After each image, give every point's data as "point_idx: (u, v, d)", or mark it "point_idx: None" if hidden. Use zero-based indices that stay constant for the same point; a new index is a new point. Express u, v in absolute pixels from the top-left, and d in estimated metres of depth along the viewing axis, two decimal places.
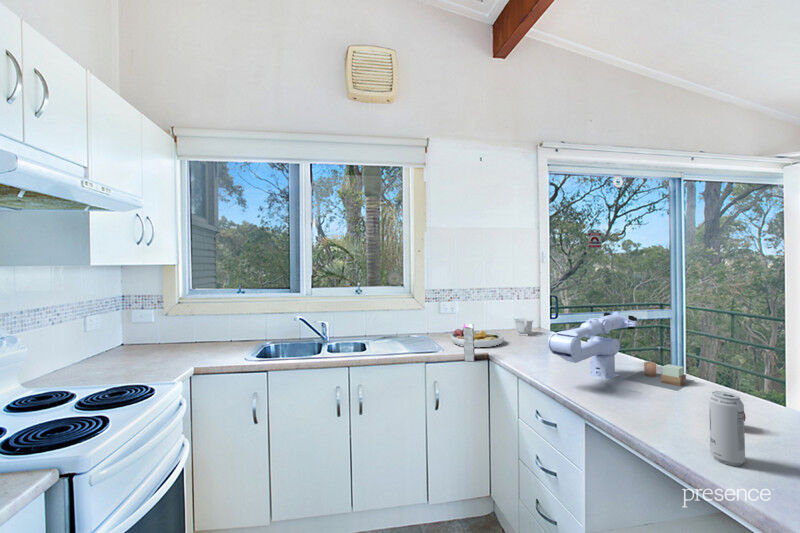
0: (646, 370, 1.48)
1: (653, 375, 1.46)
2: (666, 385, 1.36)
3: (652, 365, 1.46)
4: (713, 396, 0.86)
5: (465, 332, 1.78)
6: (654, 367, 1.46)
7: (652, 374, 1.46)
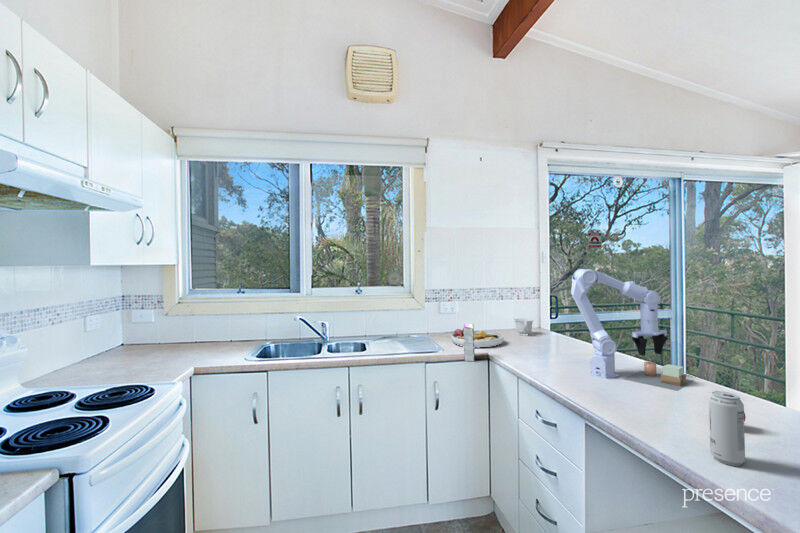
0: (646, 370, 1.48)
1: (653, 375, 1.46)
2: (666, 385, 1.36)
3: (652, 365, 1.46)
4: (713, 396, 0.86)
5: (465, 332, 1.78)
6: (654, 367, 1.46)
7: (652, 374, 1.46)
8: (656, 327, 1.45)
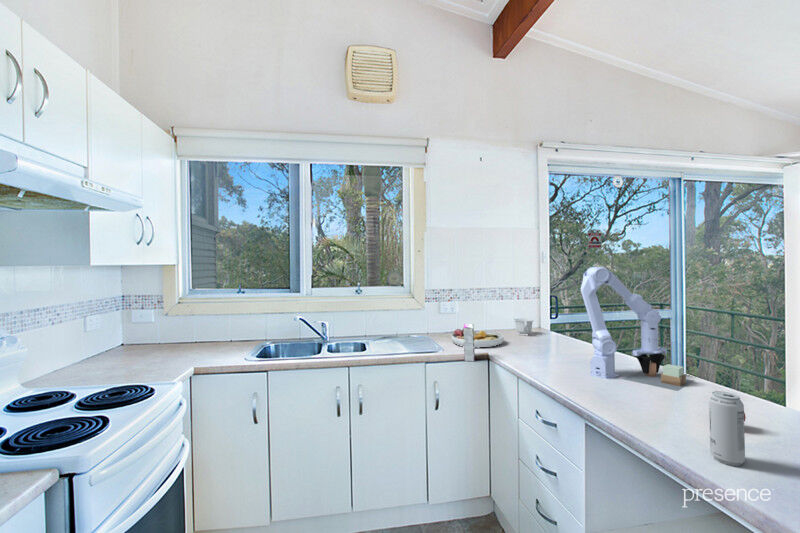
0: None
1: (653, 375, 1.46)
2: (666, 385, 1.36)
3: (652, 365, 1.46)
4: (713, 396, 0.86)
5: (465, 332, 1.78)
6: (654, 367, 1.46)
7: (652, 374, 1.46)
8: (656, 346, 1.45)
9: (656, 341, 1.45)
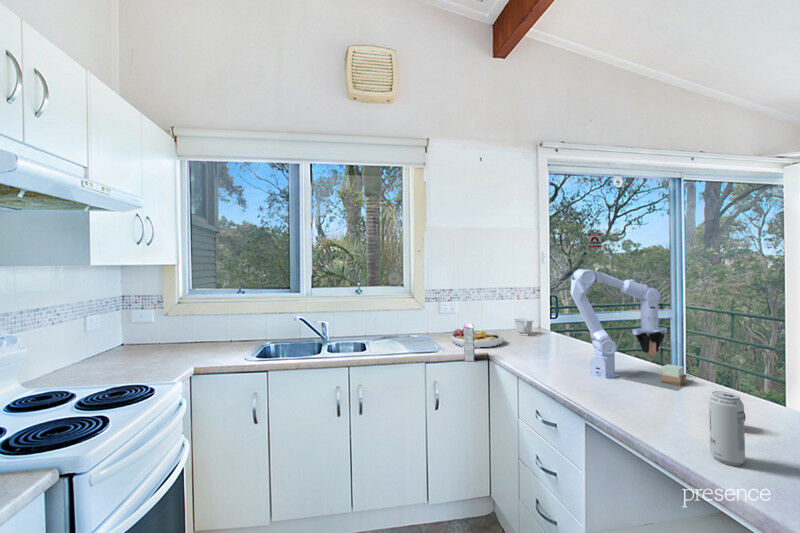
0: None
1: (653, 354, 1.46)
2: (666, 385, 1.36)
3: (652, 344, 1.46)
4: (713, 396, 0.86)
5: (465, 332, 1.78)
6: (654, 346, 1.46)
7: (652, 353, 1.46)
8: (656, 324, 1.45)
9: (656, 320, 1.45)
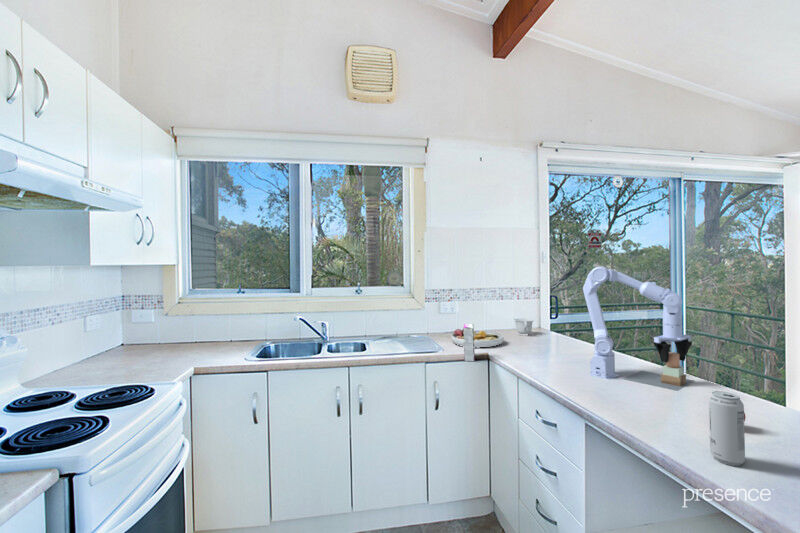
0: (668, 361, 1.38)
1: (676, 366, 1.37)
2: (666, 385, 1.36)
3: (675, 355, 1.37)
4: (713, 396, 0.86)
5: (465, 332, 1.78)
6: (677, 358, 1.37)
7: (675, 366, 1.37)
8: (680, 332, 1.36)
9: (679, 327, 1.36)
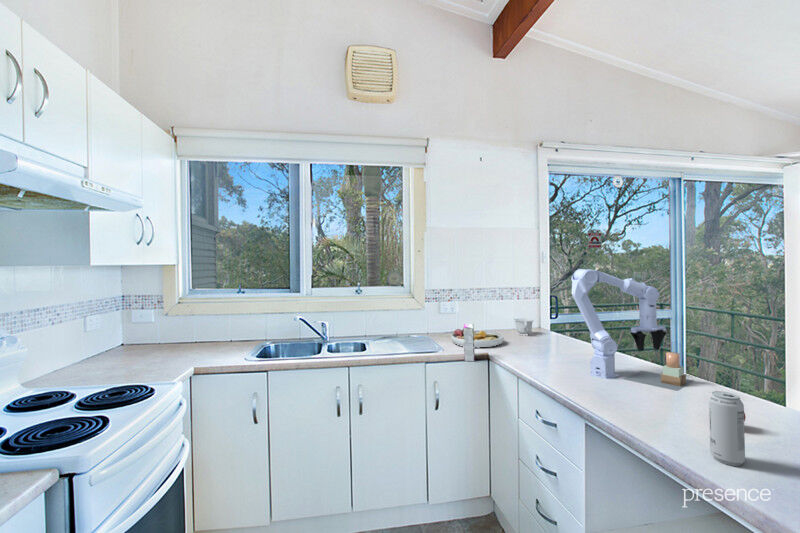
0: (668, 361, 1.38)
1: (676, 366, 1.37)
2: (666, 385, 1.36)
3: (675, 355, 1.37)
4: (713, 396, 0.86)
5: (465, 332, 1.78)
6: (677, 358, 1.37)
7: (675, 366, 1.37)
8: (655, 322, 1.47)
9: (654, 318, 1.47)
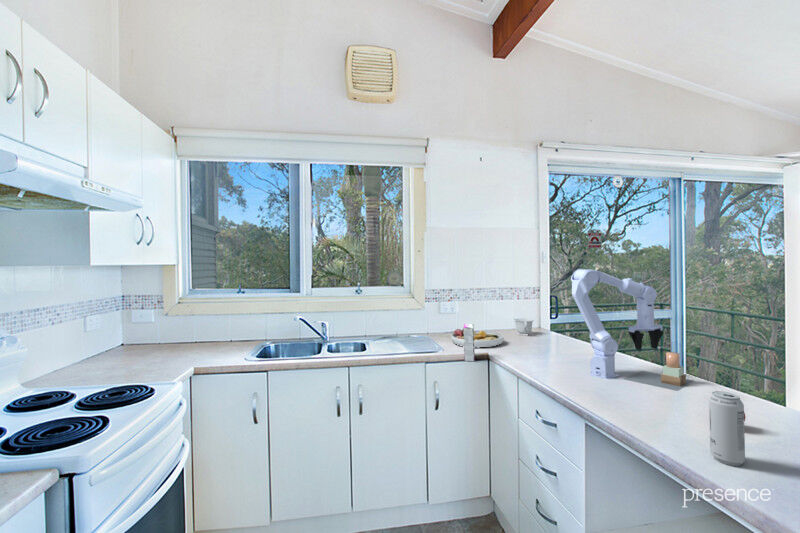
0: (668, 361, 1.38)
1: (676, 366, 1.37)
2: (666, 385, 1.36)
3: (675, 355, 1.37)
4: (713, 396, 0.86)
5: (465, 332, 1.78)
6: (677, 358, 1.37)
7: (675, 366, 1.37)
8: (652, 322, 1.48)
9: (652, 317, 1.48)
